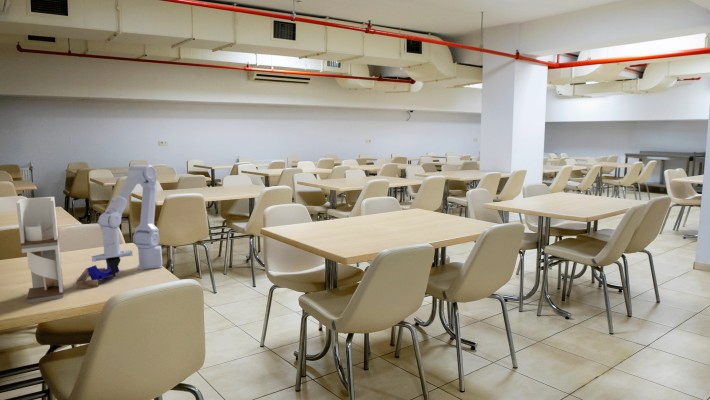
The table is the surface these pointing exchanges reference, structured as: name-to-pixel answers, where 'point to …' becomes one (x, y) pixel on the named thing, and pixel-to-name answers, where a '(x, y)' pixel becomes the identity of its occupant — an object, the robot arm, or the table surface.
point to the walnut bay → (90, 283)
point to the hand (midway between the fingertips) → (114, 276)
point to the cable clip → (99, 275)
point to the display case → (41, 247)
